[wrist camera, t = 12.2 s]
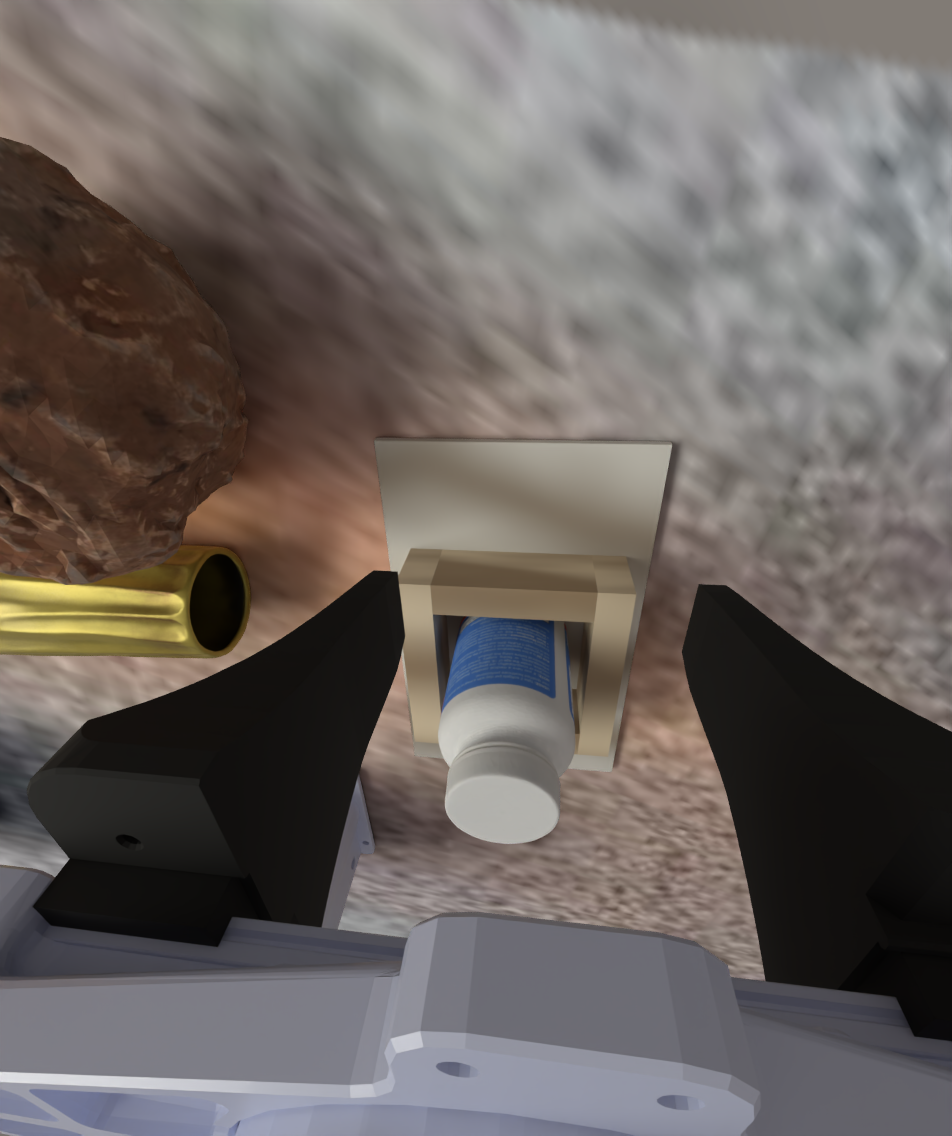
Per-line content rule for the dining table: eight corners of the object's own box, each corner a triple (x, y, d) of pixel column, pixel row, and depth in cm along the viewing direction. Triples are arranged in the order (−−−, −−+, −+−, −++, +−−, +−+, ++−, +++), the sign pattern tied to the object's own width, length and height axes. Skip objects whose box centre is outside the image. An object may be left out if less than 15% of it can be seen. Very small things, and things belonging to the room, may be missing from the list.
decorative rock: (1, 94, 17) (-550, -67, 8) (323, 255, 18) (132, 256, 10) (26, 444, 24) (-262, 551, 15) (258, 542, 25) (113, 688, 17)
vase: (6, 647, 28) (254, 656, 27) (-136, 669, 22) (177, 681, 21) (9, 537, 28) (257, 541, 27) (-133, 528, 22) (181, 532, 21)
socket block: (610, 766, 31) (617, 819, 28) (416, 750, 32) (403, 799, 29) (670, 441, 20) (691, 472, 17) (376, 437, 21) (350, 466, 19)
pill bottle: (438, 619, 26) (388, 791, 17) (524, 566, 23) (514, 736, 15) (504, 685, 28) (487, 870, 19) (589, 643, 25) (611, 830, 17)
